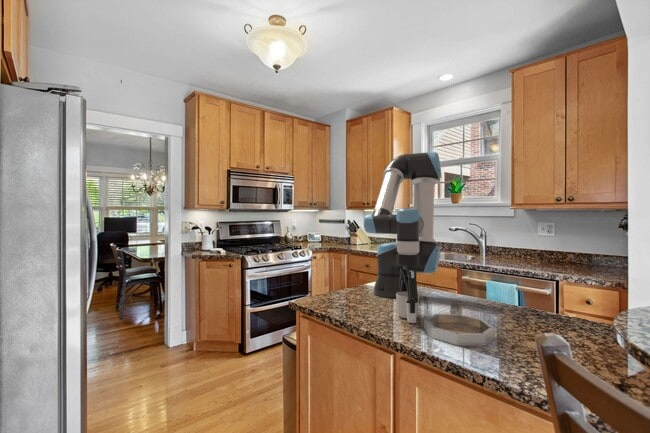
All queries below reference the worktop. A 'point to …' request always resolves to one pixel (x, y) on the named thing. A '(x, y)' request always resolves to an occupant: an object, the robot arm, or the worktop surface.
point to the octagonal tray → (459, 329)
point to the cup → (404, 304)
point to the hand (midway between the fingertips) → (407, 316)
